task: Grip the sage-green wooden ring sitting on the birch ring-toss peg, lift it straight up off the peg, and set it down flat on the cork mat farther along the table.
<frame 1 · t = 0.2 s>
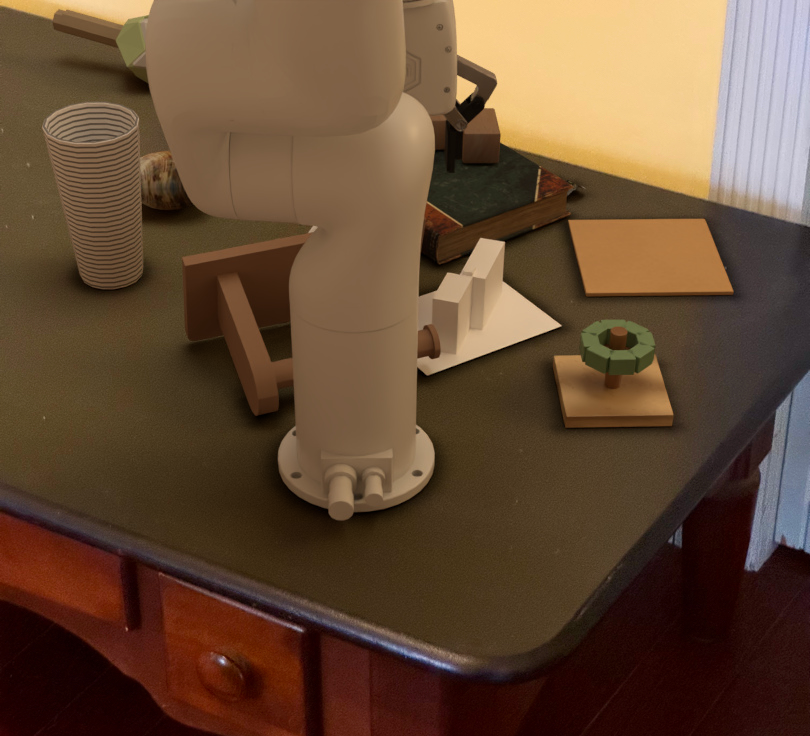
hand: (396, 166, 130), 12 cm above the table, tool pointing down, fingers open, 9 cm apart
cup: (112, 275, 138), on the table
ring peg: (610, 395, 124), on the table
wooden block: (498, 135, 149), point 6 cm above the table, touching book, blue perforated plate
decorative object: (55, 17, 172), point 5 cm above the table, touching blue perforated plate
ring: (616, 355, 121), point 4 cm above the table, touching ring peg
toilet paper hanger: (322, 368, 129), on the table, touching napkin holder
blue perforated plate: (286, 87, 156), point 6 cm above the table, touching decorative object, wooden block
napkin holder: (460, 323, 133), on the table, touching toilet paper hanger
book: (430, 193, 151), on the table, touching wooden block
cork mat: (647, 257, 142), on the table
seashell: (190, 173, 150), point 2 cm above the table
teacup: (347, 287, 137), on the table
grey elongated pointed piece: (552, 184, 151), point 1 cm above the table
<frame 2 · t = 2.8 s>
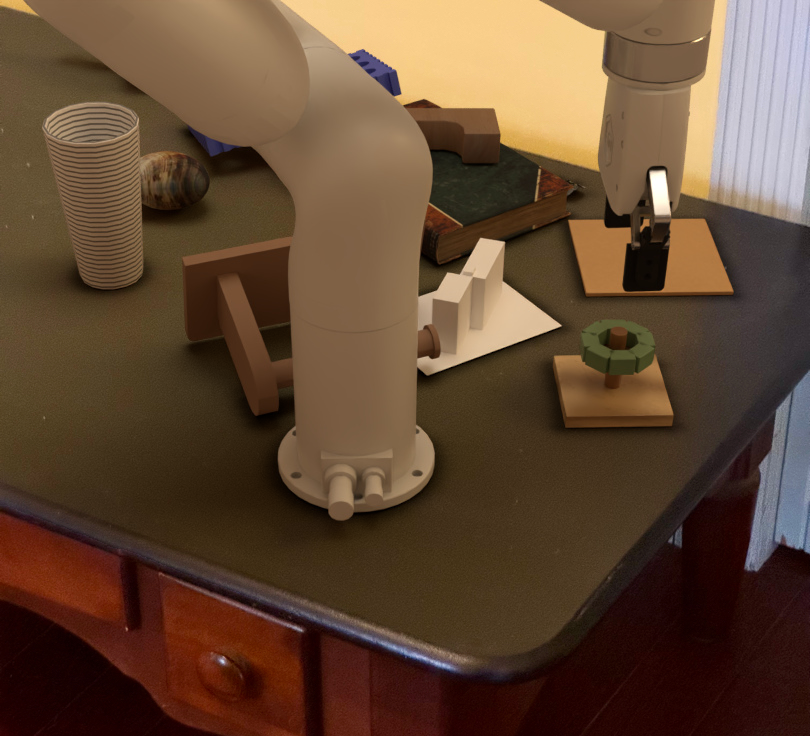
hand: (632, 256, 116), 13 cm above the table, tool pointing down, fingers open, 9 cm apart
nothing on the table moved.
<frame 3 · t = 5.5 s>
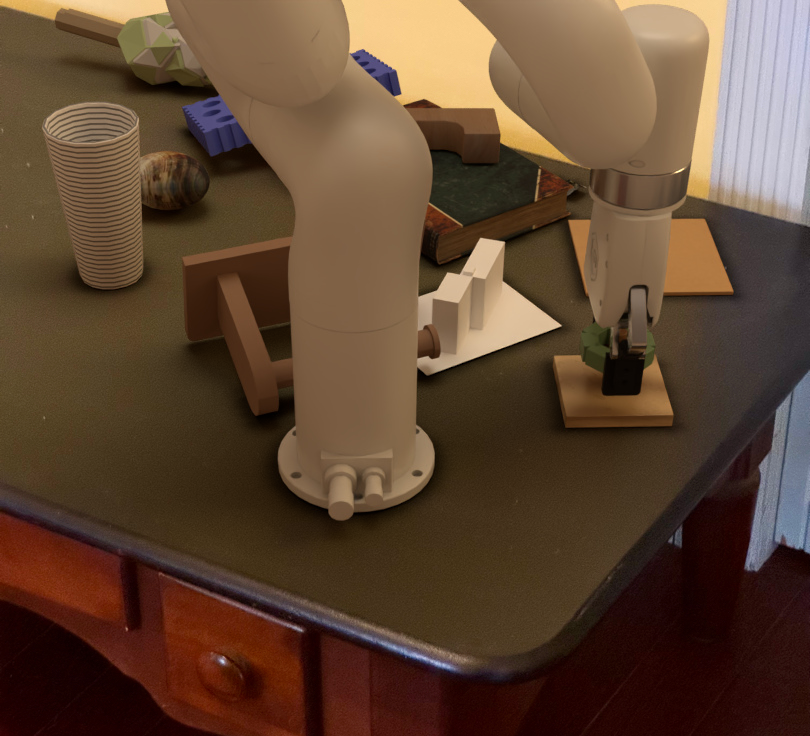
hand: (614, 368, 122), 3 cm above the table, tool pointing down, fingers closed on ring, 6 cm apart
ring: (616, 354, 121), point 4 cm above the table, touching gripper, ring peg
everything else where it was.
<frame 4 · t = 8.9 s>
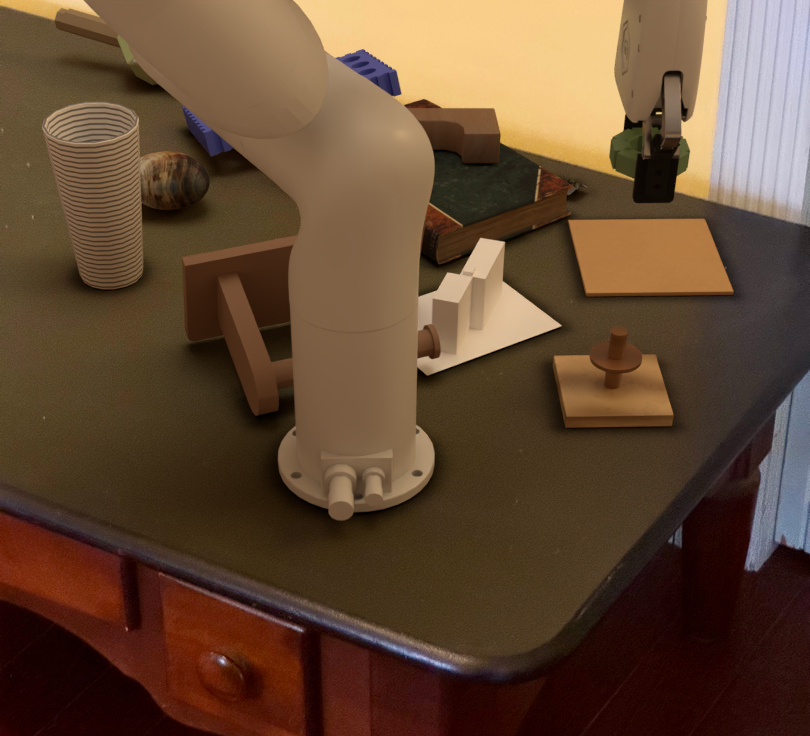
hand: (646, 178, 116), 18 cm above the table, tool pointing down, fingers closed on ring, 6 cm apart
ring: (648, 162, 115), point 19 cm above the table, touching gripper
everything else where it was.
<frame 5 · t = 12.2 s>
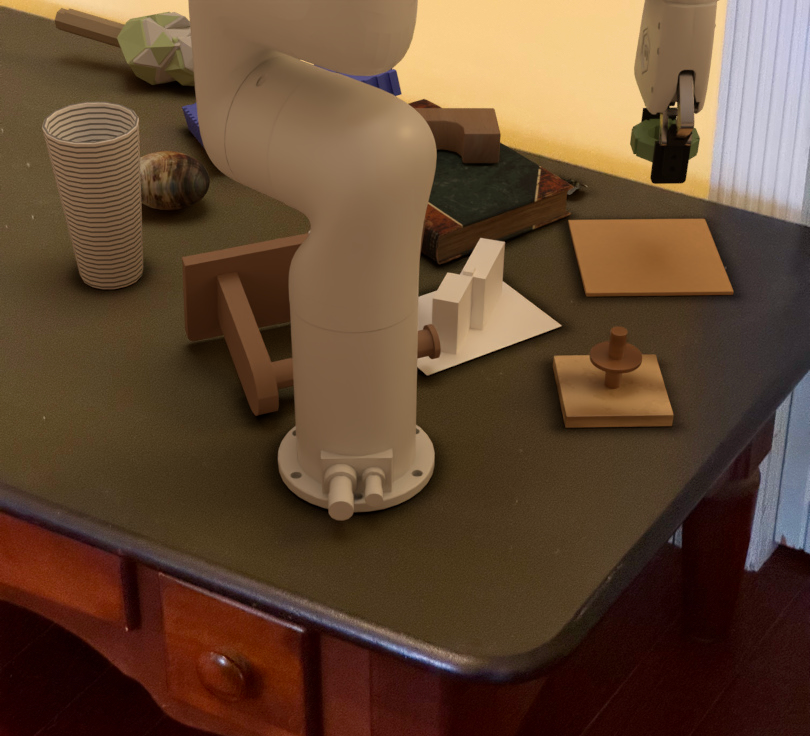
hand: (661, 163, 135), 10 cm above the table, tool pointing down, fingers closed on ring, 6 cm apart
ring: (663, 149, 134), point 11 cm above the table, touching gripper
everything else where it was.
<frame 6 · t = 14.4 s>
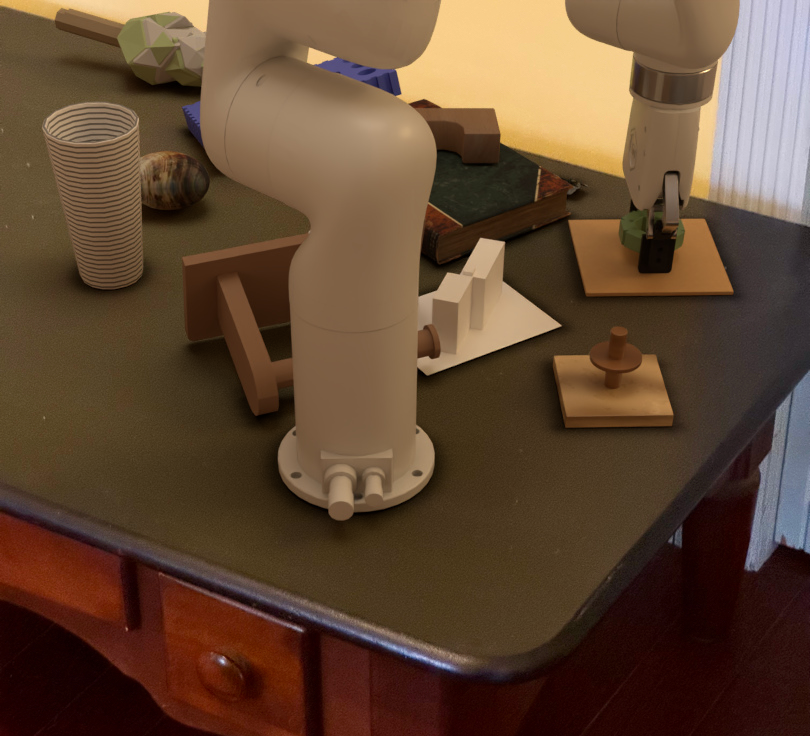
hand: (648, 252, 141), 1 cm above the table, tool pointing down, fingers closed on ring, 6 cm apart
ring: (650, 239, 140), point 2 cm above the table, touching gripper
everything else where it was.
when the fingers open (1 cm above the table, at t = 19.1 s): ring drops 2 cm, resting on cork mat.
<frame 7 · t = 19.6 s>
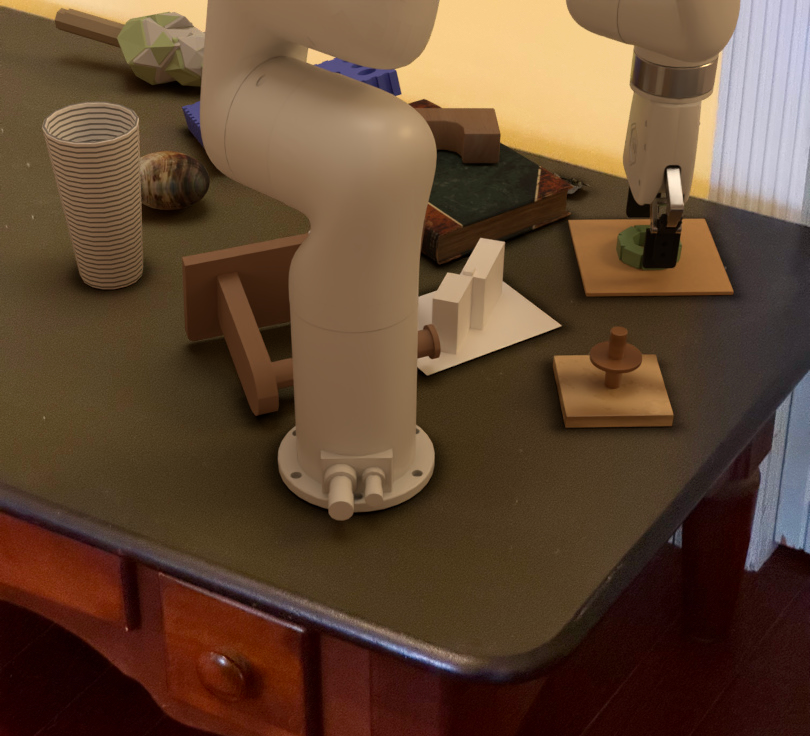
hand: (649, 240, 141), 2 cm above the table, tool pointing down, fingers open, 9 cm apart
ring: (647, 254, 141), resting on cork mat
everything else where it was.
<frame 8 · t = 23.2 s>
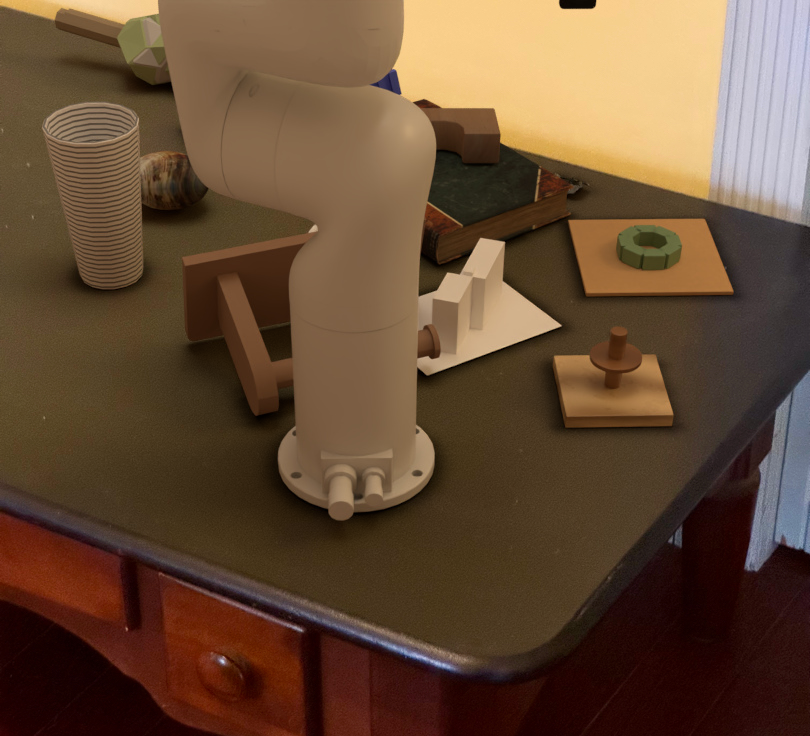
nothing on the table moved.
at the end: ring inside the target area on the cork mat (0.0 cm from its centre), point 0.4 cm above the cork mat's base; ring touching cork mat; ring tilted 0° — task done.
